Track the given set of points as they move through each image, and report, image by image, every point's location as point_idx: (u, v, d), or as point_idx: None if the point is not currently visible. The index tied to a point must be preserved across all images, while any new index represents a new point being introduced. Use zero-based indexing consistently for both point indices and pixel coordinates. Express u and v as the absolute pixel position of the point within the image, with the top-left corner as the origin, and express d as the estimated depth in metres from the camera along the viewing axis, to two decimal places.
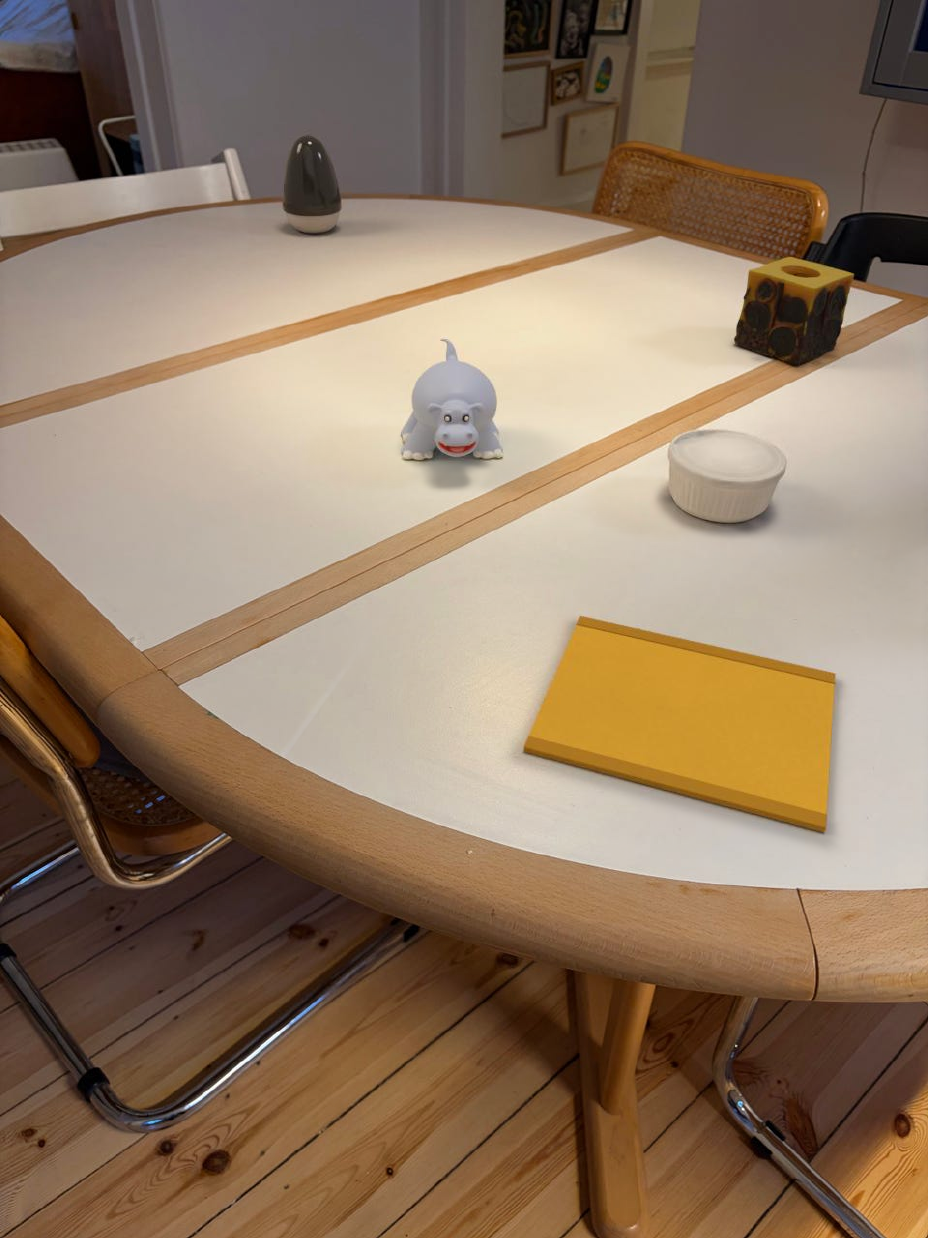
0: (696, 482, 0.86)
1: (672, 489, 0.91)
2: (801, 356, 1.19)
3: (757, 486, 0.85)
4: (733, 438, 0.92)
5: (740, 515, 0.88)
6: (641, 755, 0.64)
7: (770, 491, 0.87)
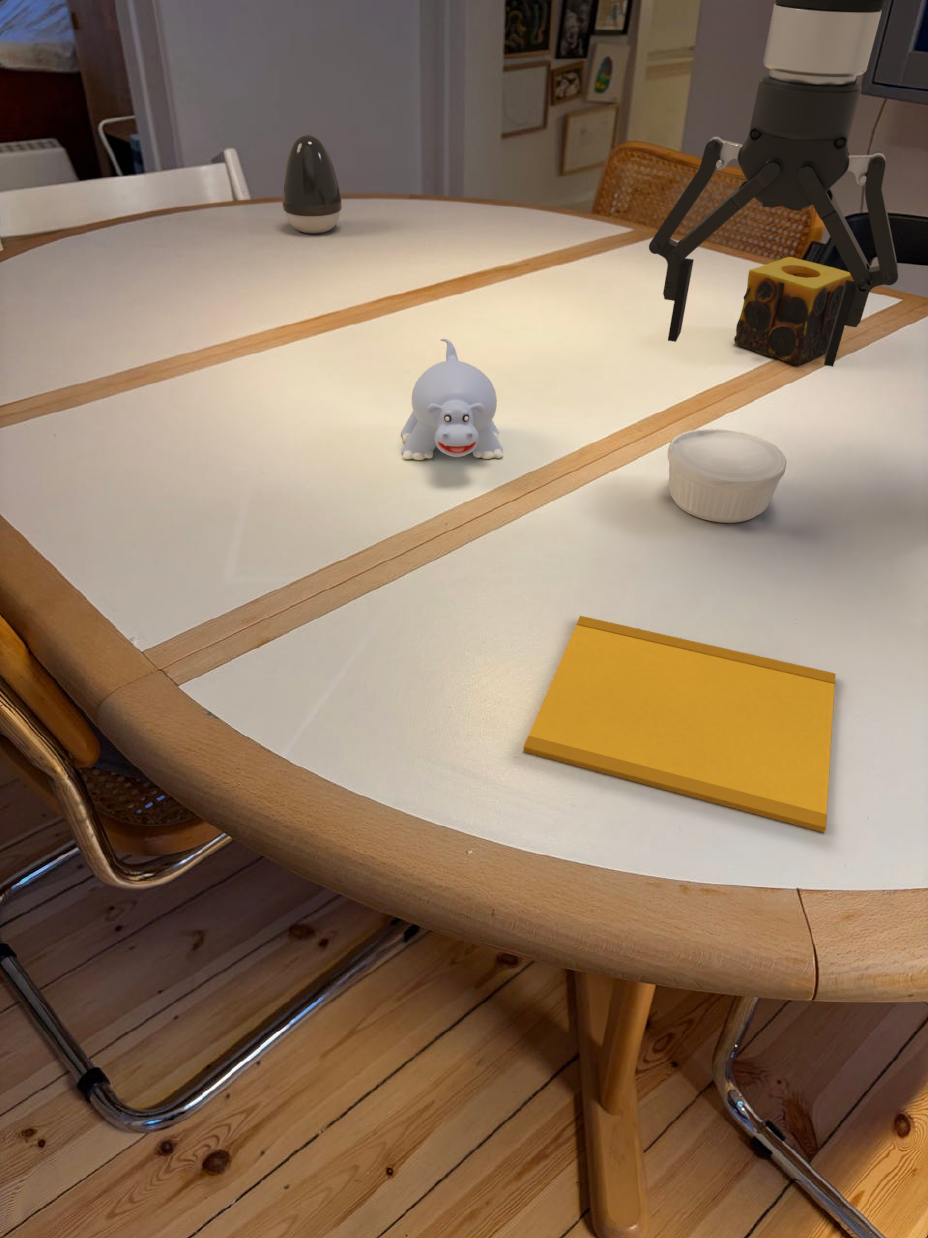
0: (696, 482, 0.86)
1: (672, 489, 0.91)
2: (801, 356, 1.19)
3: (757, 486, 0.85)
4: (733, 438, 0.92)
5: (740, 516, 0.88)
6: (641, 755, 0.64)
7: (770, 491, 0.87)
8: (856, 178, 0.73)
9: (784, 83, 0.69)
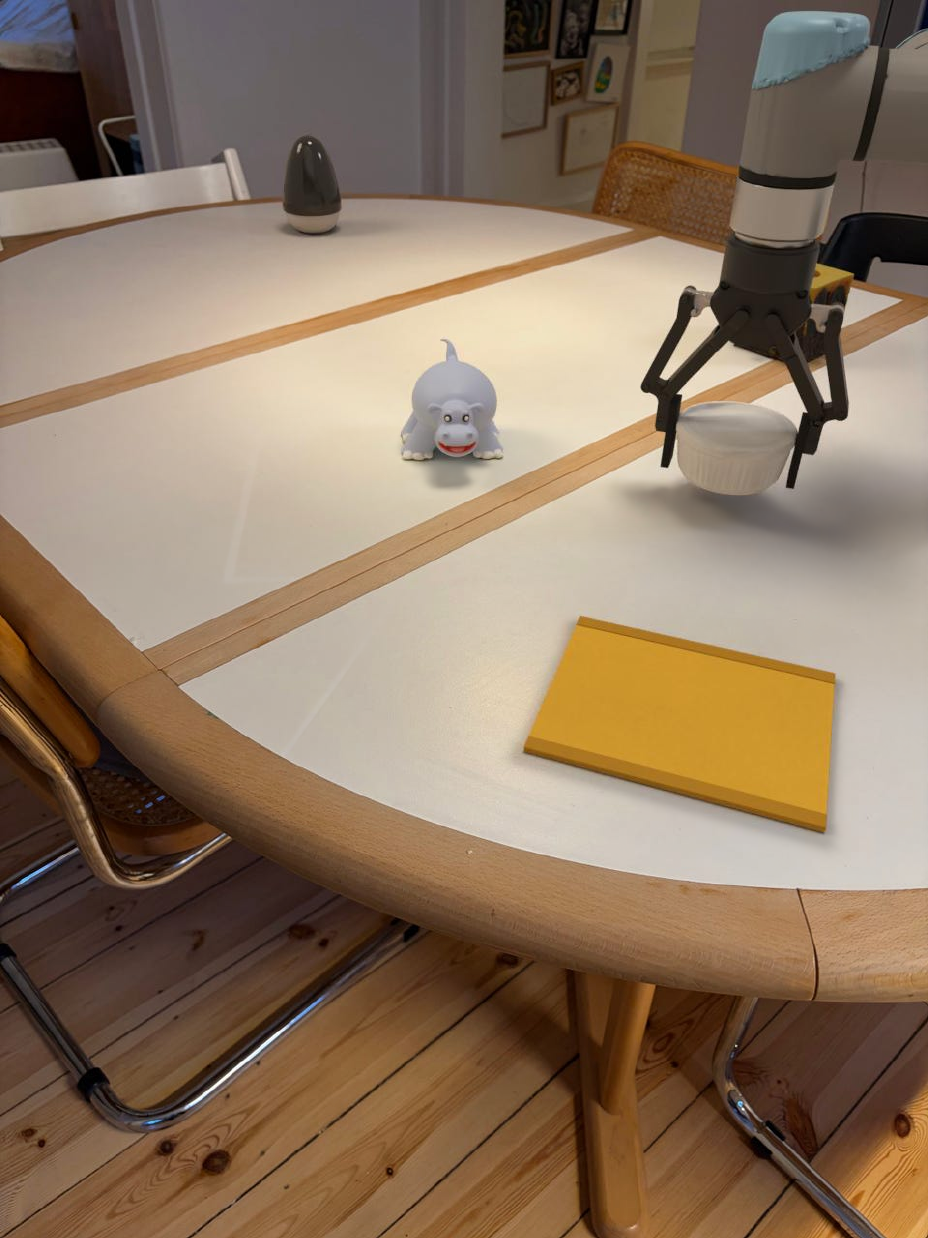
0: (705, 453, 0.85)
1: (681, 462, 0.89)
2: None
3: (768, 457, 0.83)
4: (743, 410, 0.91)
5: (751, 487, 0.86)
6: (641, 755, 0.64)
7: (781, 462, 0.86)
8: (817, 325, 0.80)
9: (749, 247, 0.75)
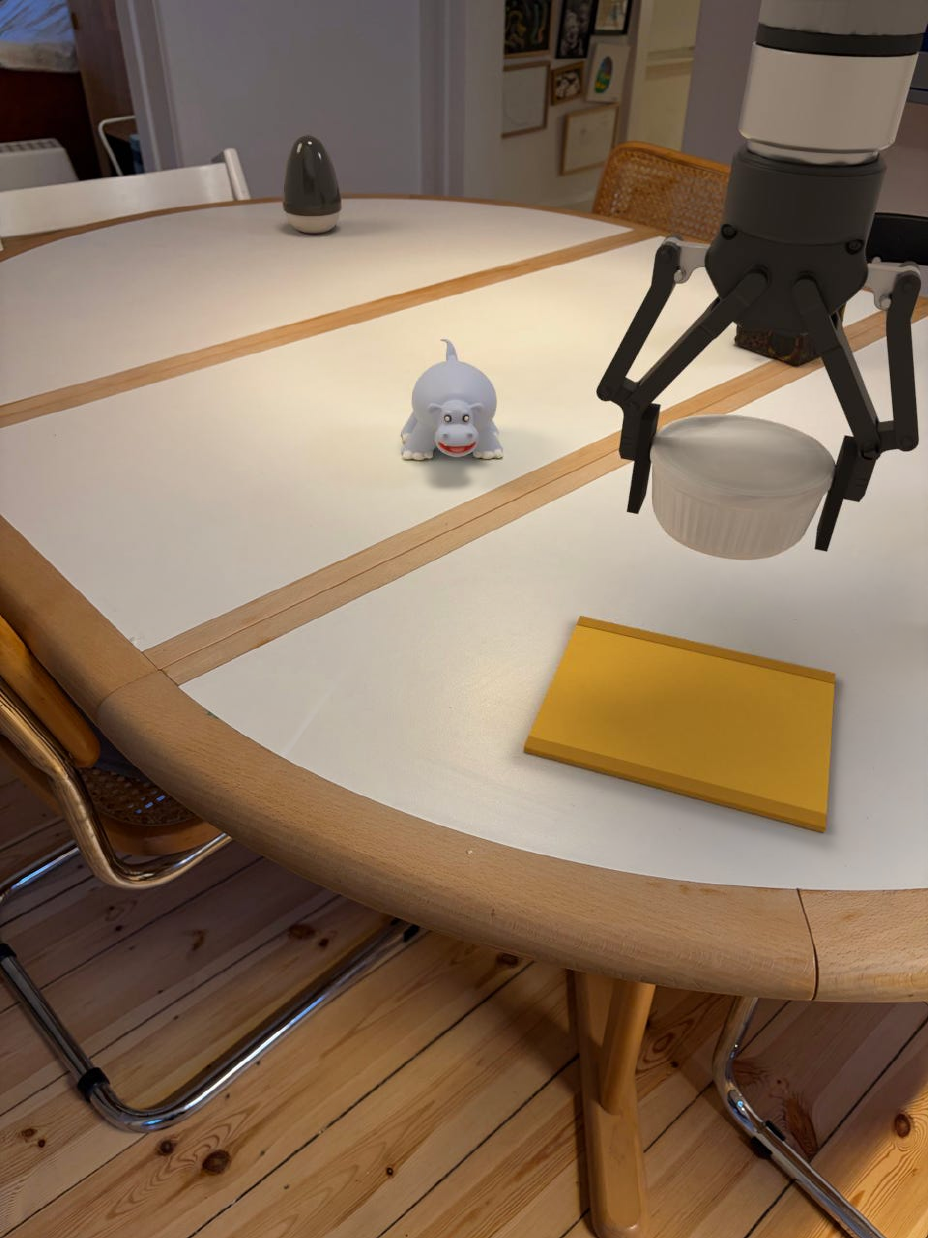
0: (694, 497, 0.54)
1: (657, 507, 0.59)
2: (801, 356, 1.19)
3: (791, 505, 0.53)
4: (751, 429, 0.60)
5: (763, 550, 0.56)
6: (641, 755, 0.64)
7: (811, 512, 0.55)
8: (875, 299, 0.49)
9: (770, 163, 0.45)
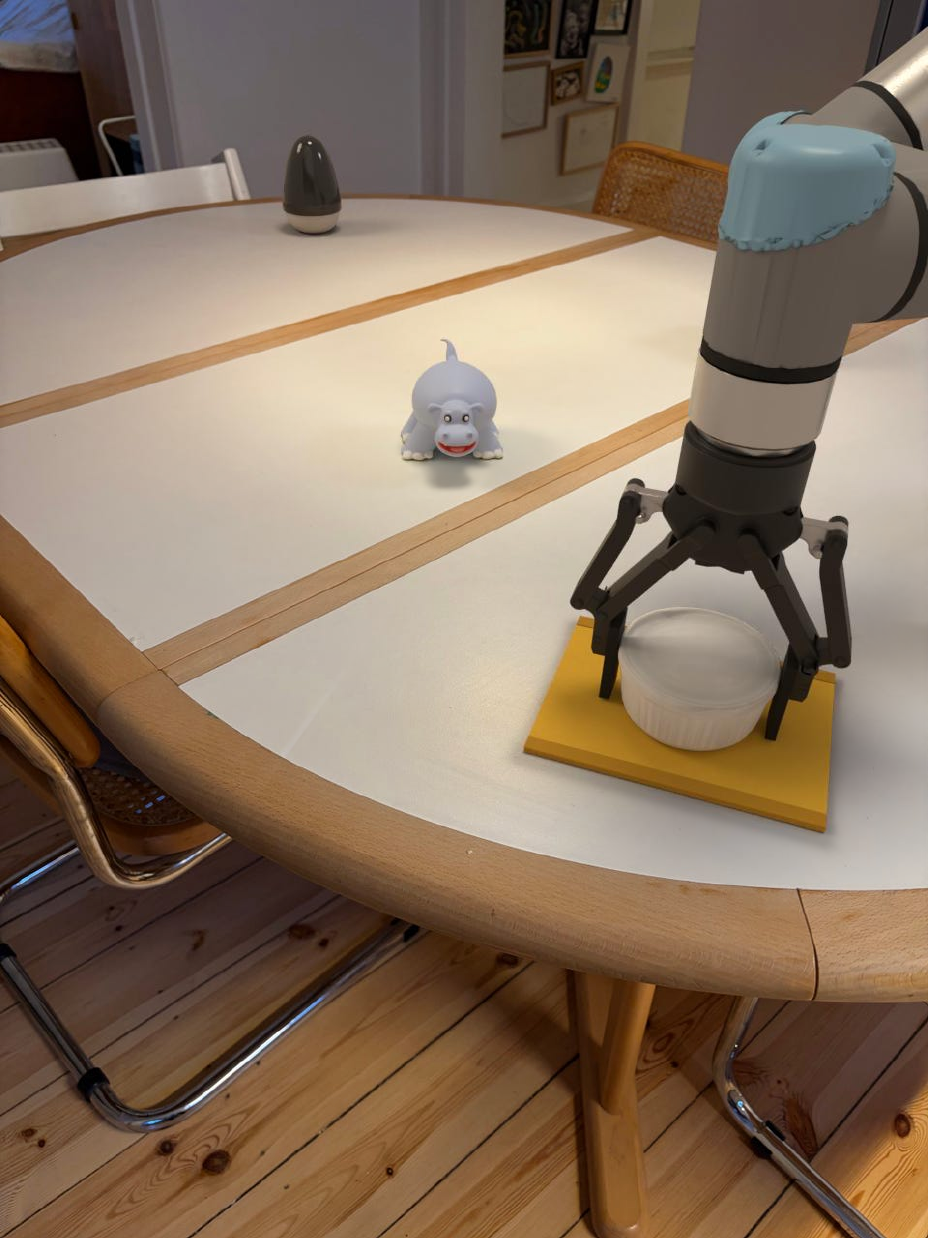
0: (655, 703, 0.62)
1: (625, 699, 0.66)
2: None
3: (741, 713, 0.61)
4: (709, 624, 0.68)
5: (717, 745, 0.63)
6: (641, 755, 0.64)
7: (759, 712, 0.63)
8: (810, 548, 0.57)
9: (714, 451, 0.52)
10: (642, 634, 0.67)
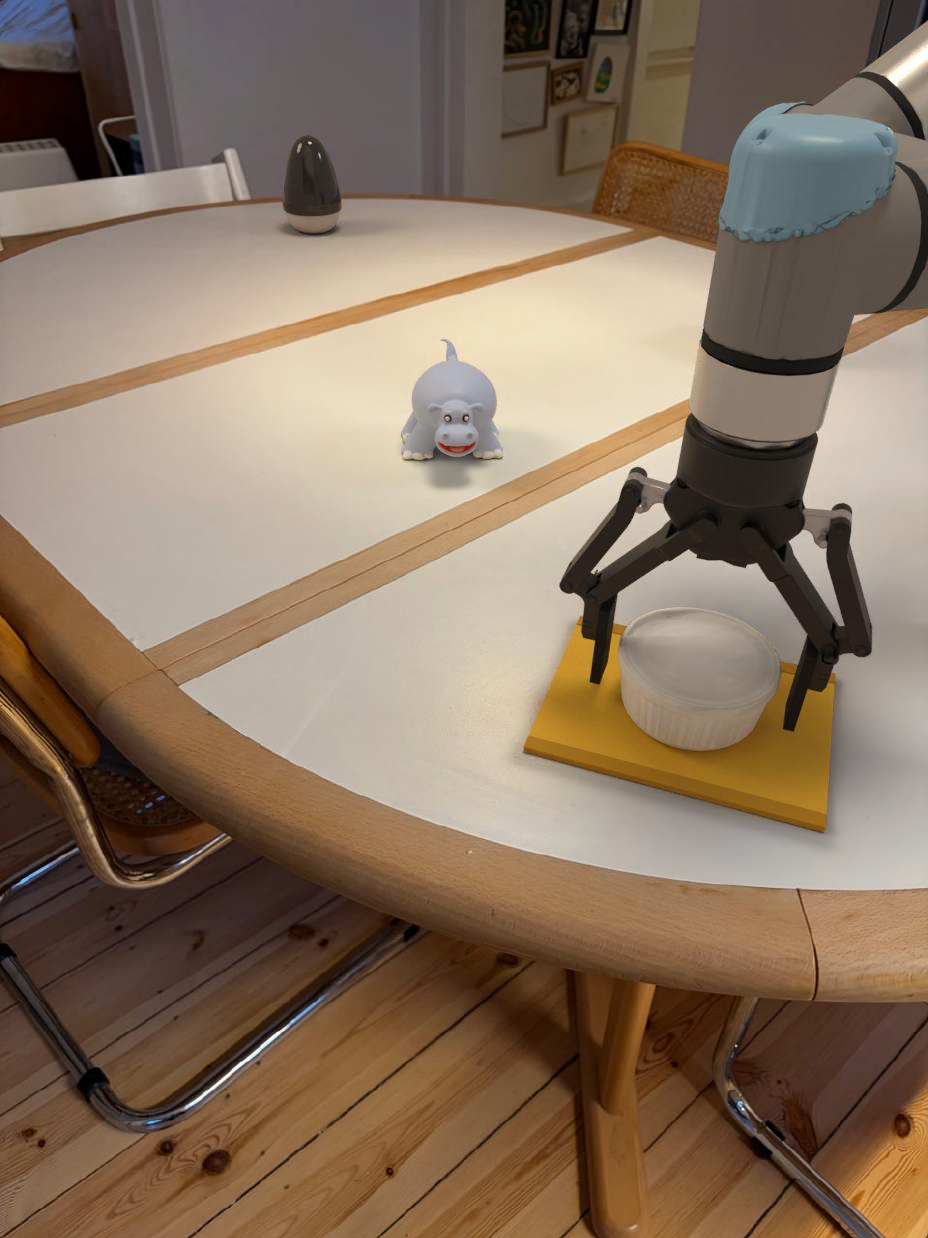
0: (655, 703, 0.62)
1: (624, 699, 0.66)
2: None
3: (740, 713, 0.61)
4: (709, 624, 0.68)
5: (717, 745, 0.63)
6: (641, 755, 0.64)
7: (759, 712, 0.63)
8: (815, 538, 0.56)
9: (715, 444, 0.52)
10: (642, 634, 0.67)
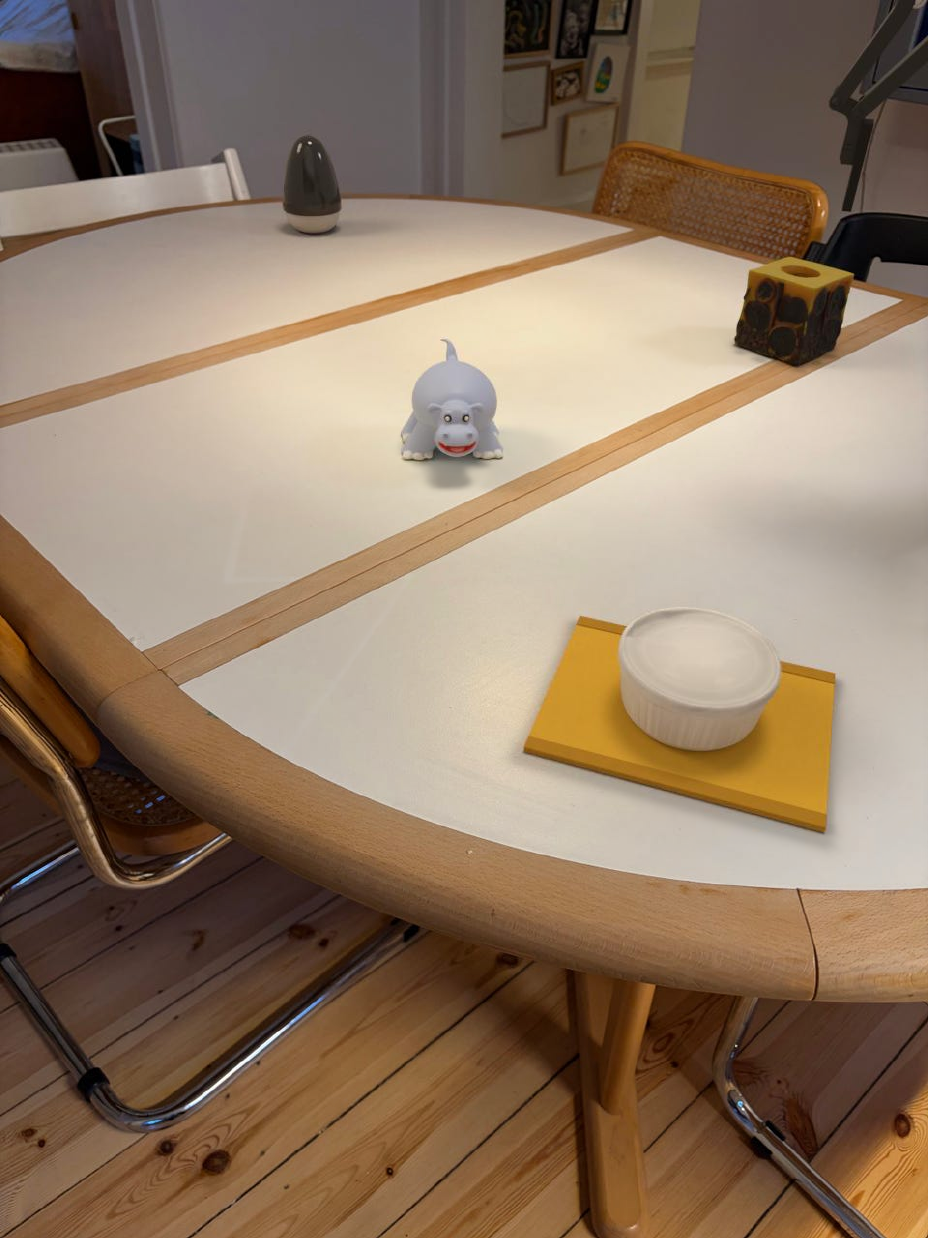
0: (655, 703, 0.62)
1: (624, 699, 0.66)
2: (801, 356, 1.19)
3: (740, 713, 0.61)
4: (709, 624, 0.68)
5: (717, 745, 0.63)
6: (641, 755, 0.64)
7: (759, 712, 0.63)
8: None
9: None
10: (642, 634, 0.67)
